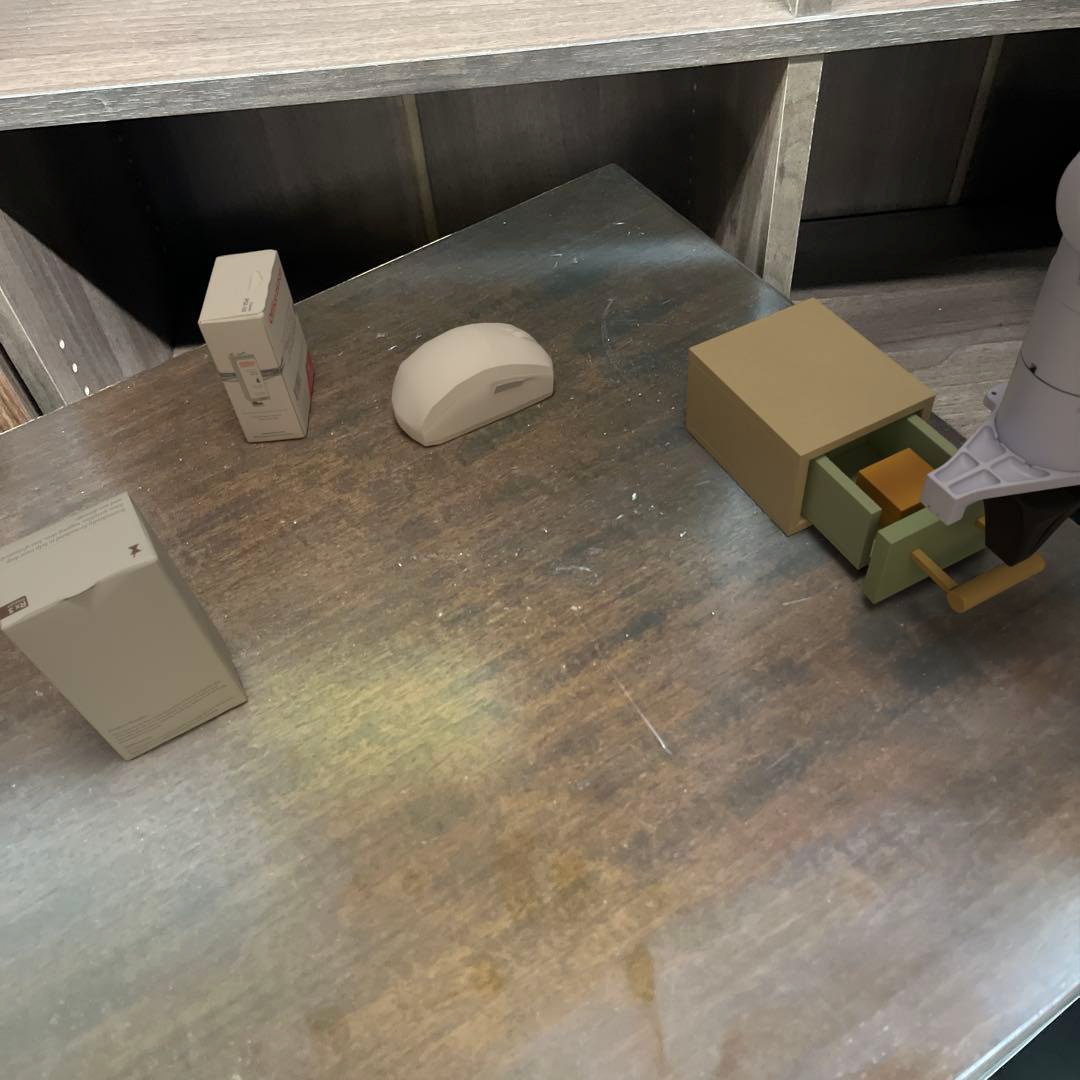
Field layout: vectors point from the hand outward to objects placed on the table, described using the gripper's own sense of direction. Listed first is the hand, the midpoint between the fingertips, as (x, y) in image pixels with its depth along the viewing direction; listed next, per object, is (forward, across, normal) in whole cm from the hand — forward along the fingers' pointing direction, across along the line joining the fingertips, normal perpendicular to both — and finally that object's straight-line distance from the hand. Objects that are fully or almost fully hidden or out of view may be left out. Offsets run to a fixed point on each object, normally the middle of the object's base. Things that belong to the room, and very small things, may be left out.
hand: (1006, 551), depth 55 cm
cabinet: (+7, 0, -18) cm, 19 cm away
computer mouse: (+7, +18, -36) cm, 41 cm away
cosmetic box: (+7, +46, -20) cm, 50 cm away
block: (+5, 0, -8) cm, 9 cm away
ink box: (+7, +31, -44) cm, 54 cm away
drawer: (+6, 0, -7) cm, 10 cm away
